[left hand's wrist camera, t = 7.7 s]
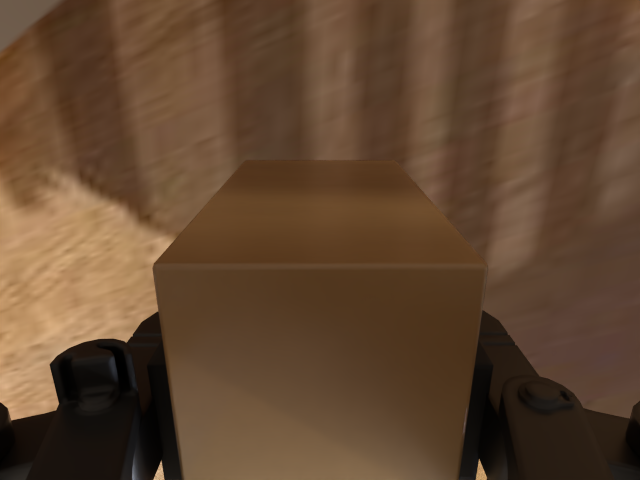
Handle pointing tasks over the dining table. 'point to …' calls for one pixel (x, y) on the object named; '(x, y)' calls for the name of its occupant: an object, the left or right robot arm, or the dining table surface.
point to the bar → (320, 327)
